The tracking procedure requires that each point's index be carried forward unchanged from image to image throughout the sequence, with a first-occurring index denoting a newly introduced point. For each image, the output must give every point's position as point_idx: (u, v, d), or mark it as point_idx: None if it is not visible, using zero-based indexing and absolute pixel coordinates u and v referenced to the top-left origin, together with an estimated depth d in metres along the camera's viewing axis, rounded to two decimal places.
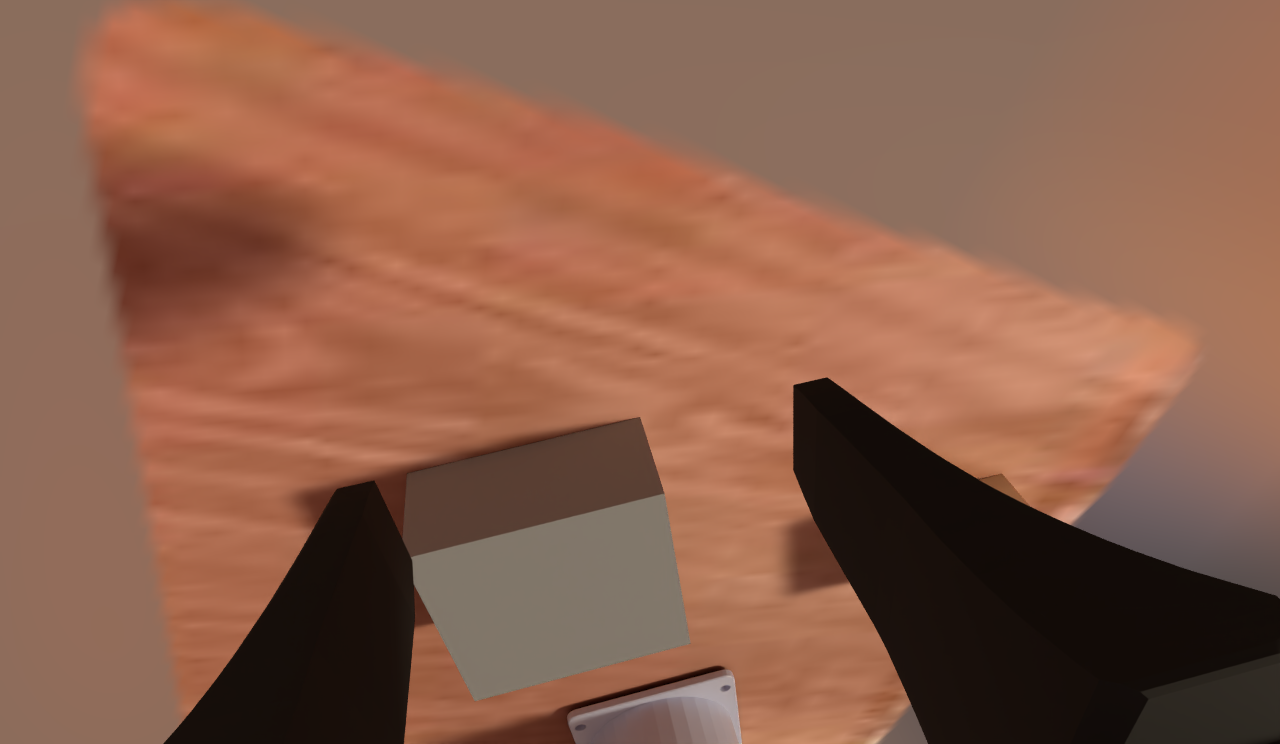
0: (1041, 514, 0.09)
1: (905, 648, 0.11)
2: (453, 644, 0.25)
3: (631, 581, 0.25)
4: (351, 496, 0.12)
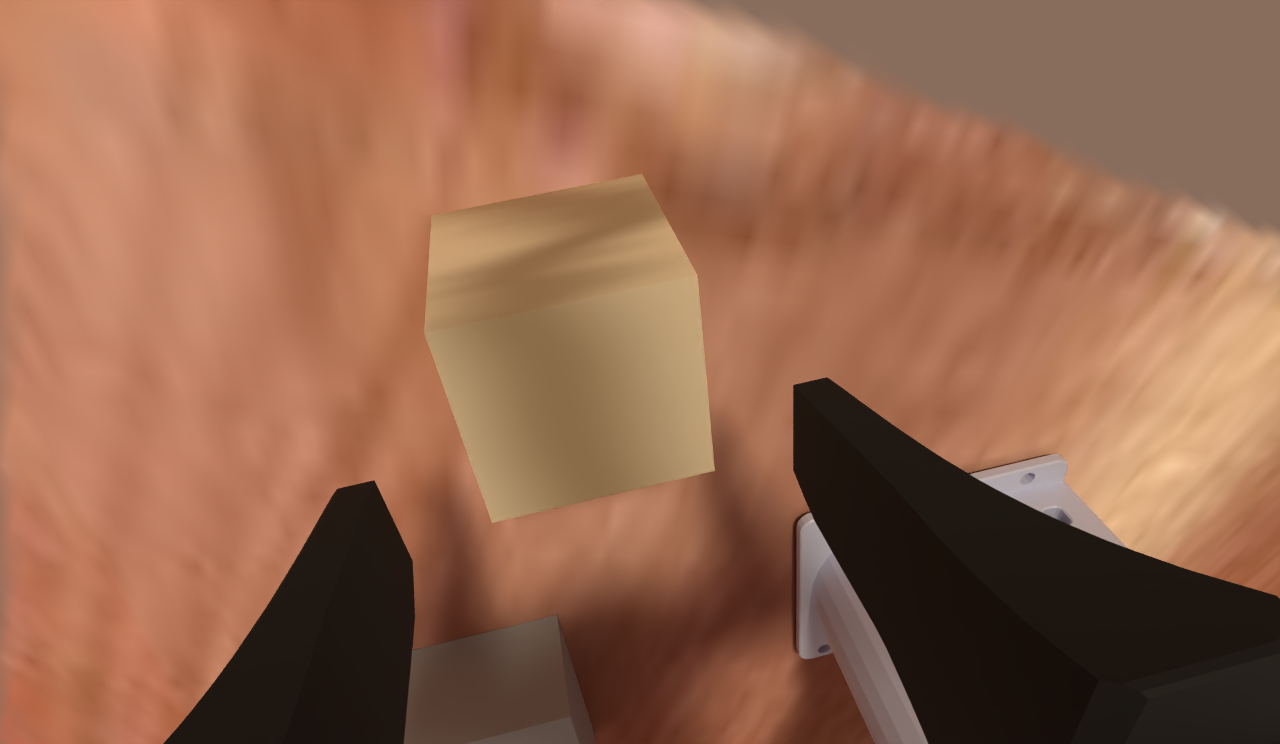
0: (1041, 514, 0.09)
1: (905, 648, 0.11)
2: None
3: None
4: (351, 496, 0.12)
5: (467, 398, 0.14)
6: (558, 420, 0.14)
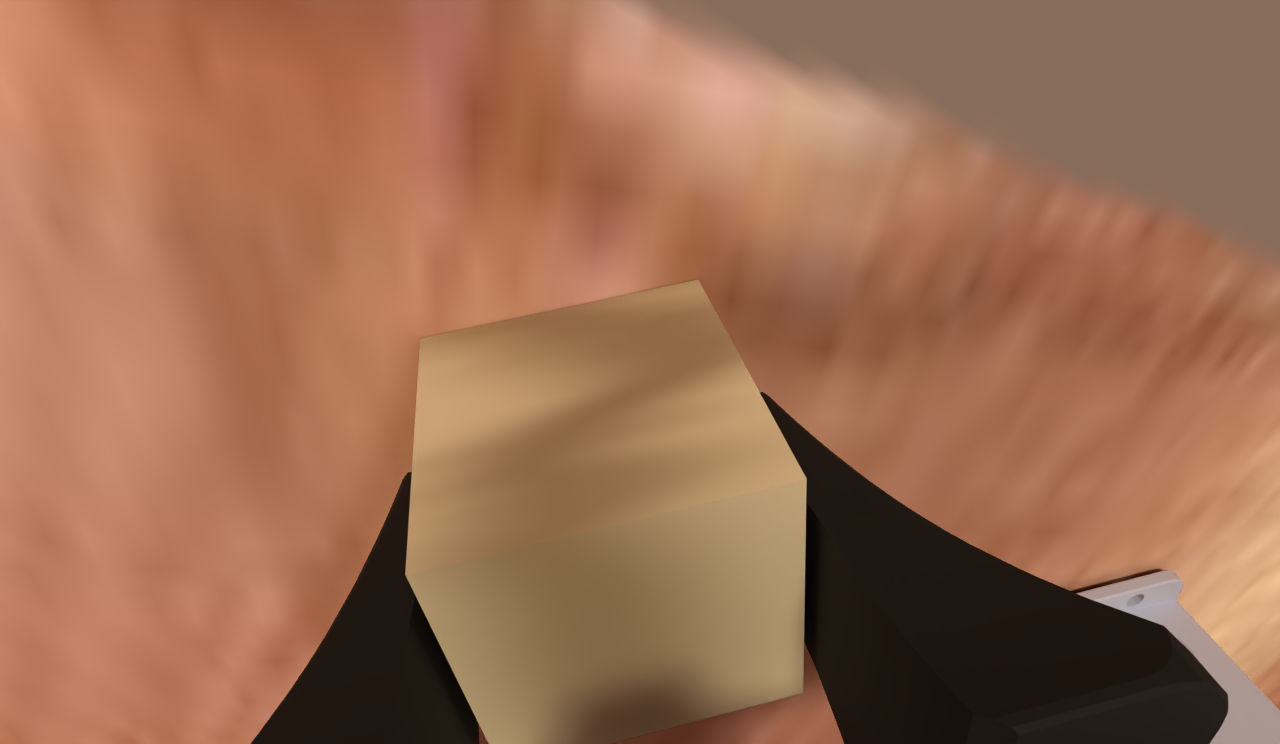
0: (951, 536, 0.09)
1: (829, 668, 0.11)
2: None
3: None
4: None
5: (469, 644, 0.10)
6: (597, 657, 0.10)
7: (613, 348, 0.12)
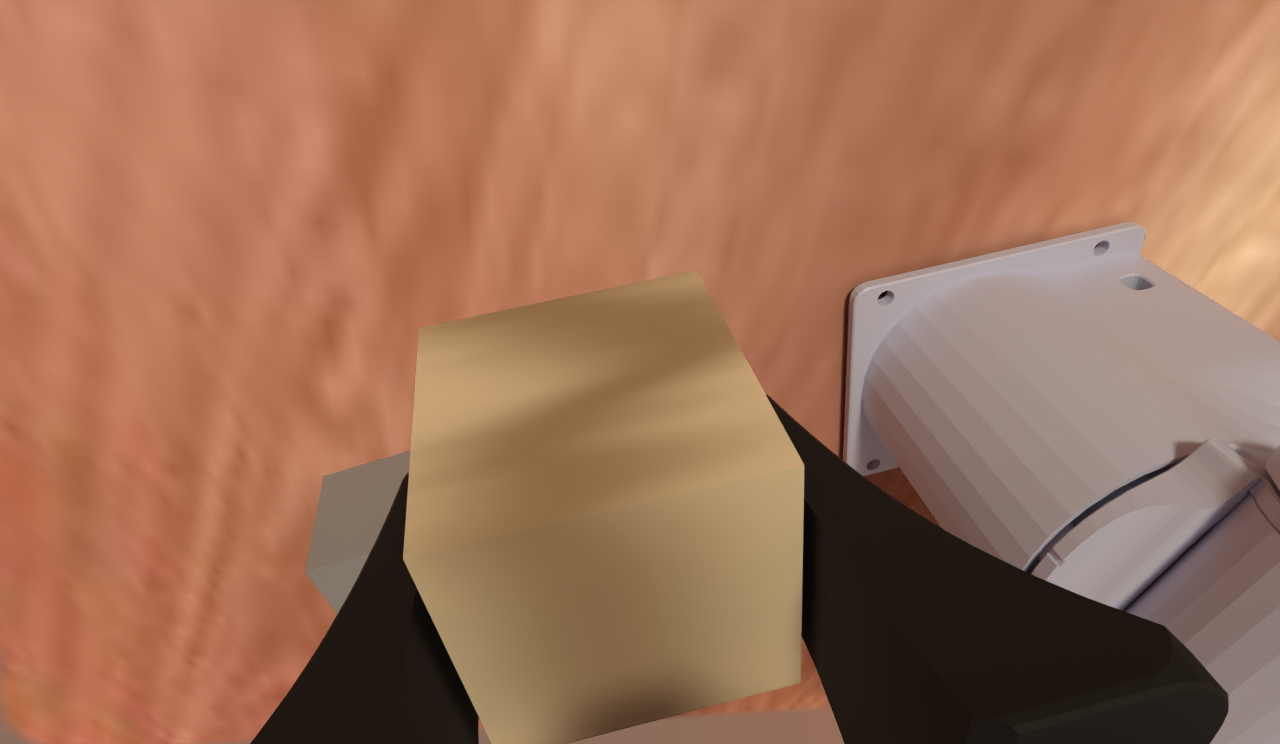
0: (951, 536, 0.09)
1: (829, 668, 0.11)
2: None
3: None
4: None
5: (467, 630, 0.10)
6: (594, 645, 0.10)
7: (612, 337, 0.12)
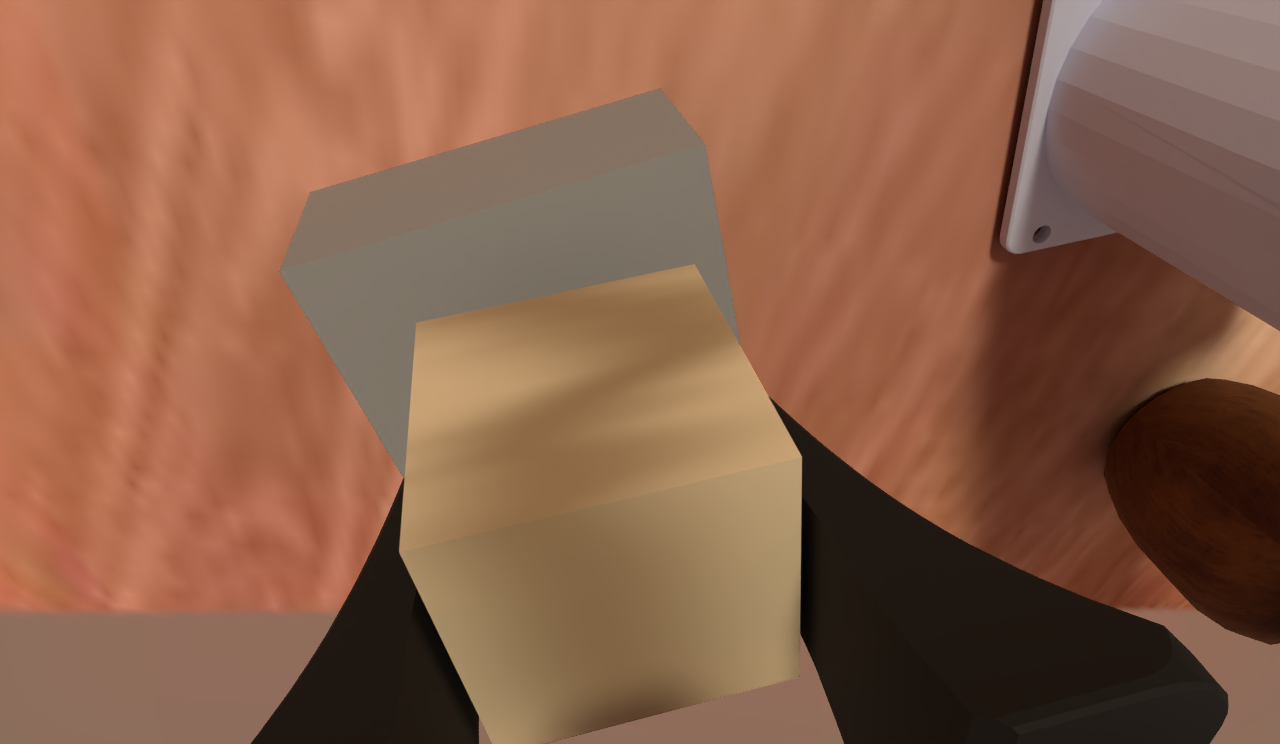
0: (951, 537, 0.09)
1: (829, 668, 0.11)
2: None
3: (505, 284, 0.15)
4: None
5: (464, 623, 0.09)
6: (592, 638, 0.10)
7: (609, 331, 0.12)
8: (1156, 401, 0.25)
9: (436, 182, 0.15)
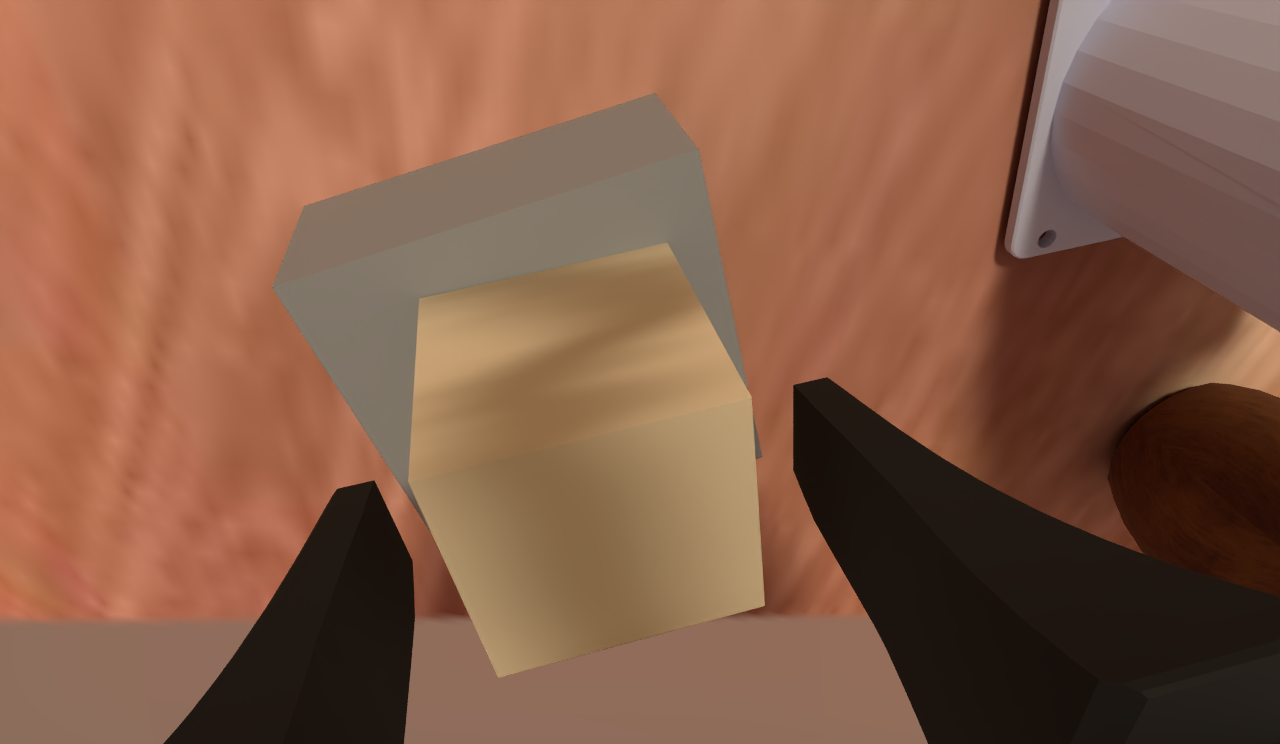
0: (1041, 514, 0.09)
1: (905, 648, 0.11)
2: None
3: None
4: (351, 496, 0.12)
5: (465, 549, 0.11)
6: (577, 566, 0.12)
7: (590, 301, 0.13)
8: (1161, 406, 0.25)
9: (429, 192, 0.15)
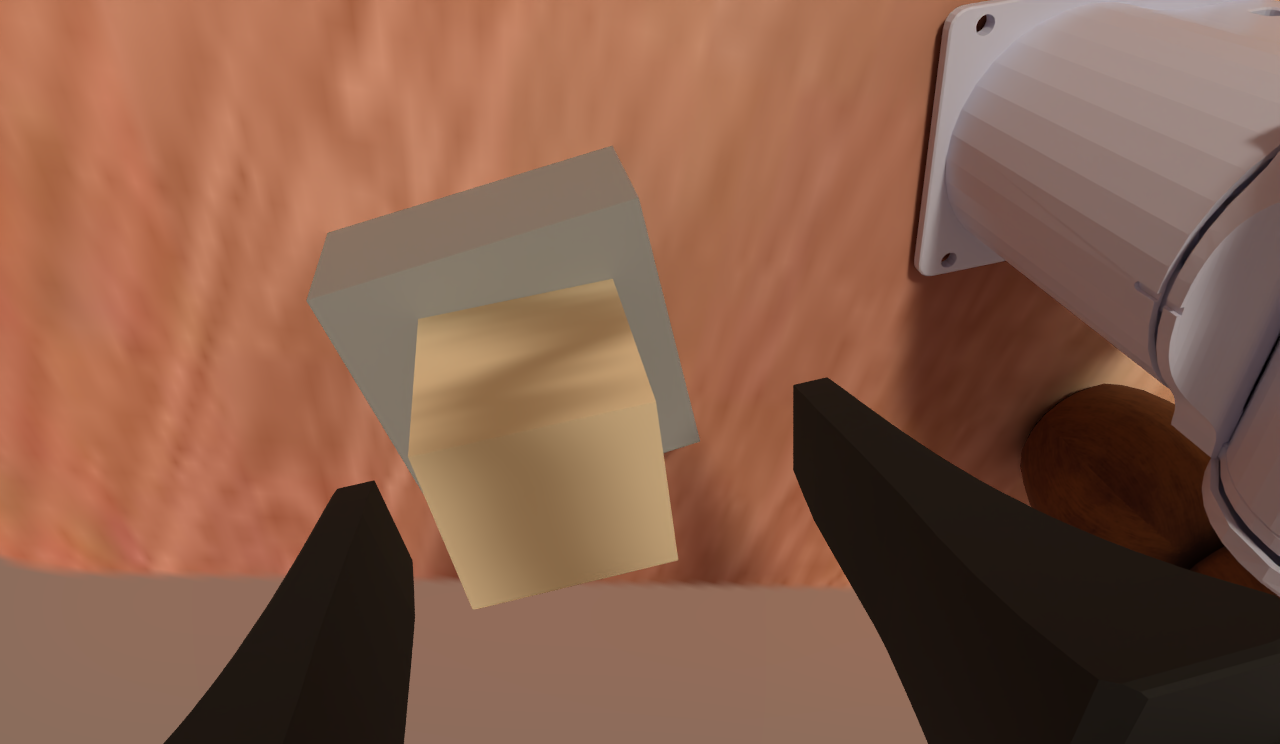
0: (1041, 514, 0.09)
1: (905, 648, 0.11)
2: None
3: None
4: (351, 496, 0.12)
5: (448, 508, 0.15)
6: (531, 523, 0.16)
7: (548, 325, 0.17)
8: (1062, 403, 0.29)
9: (429, 225, 0.19)
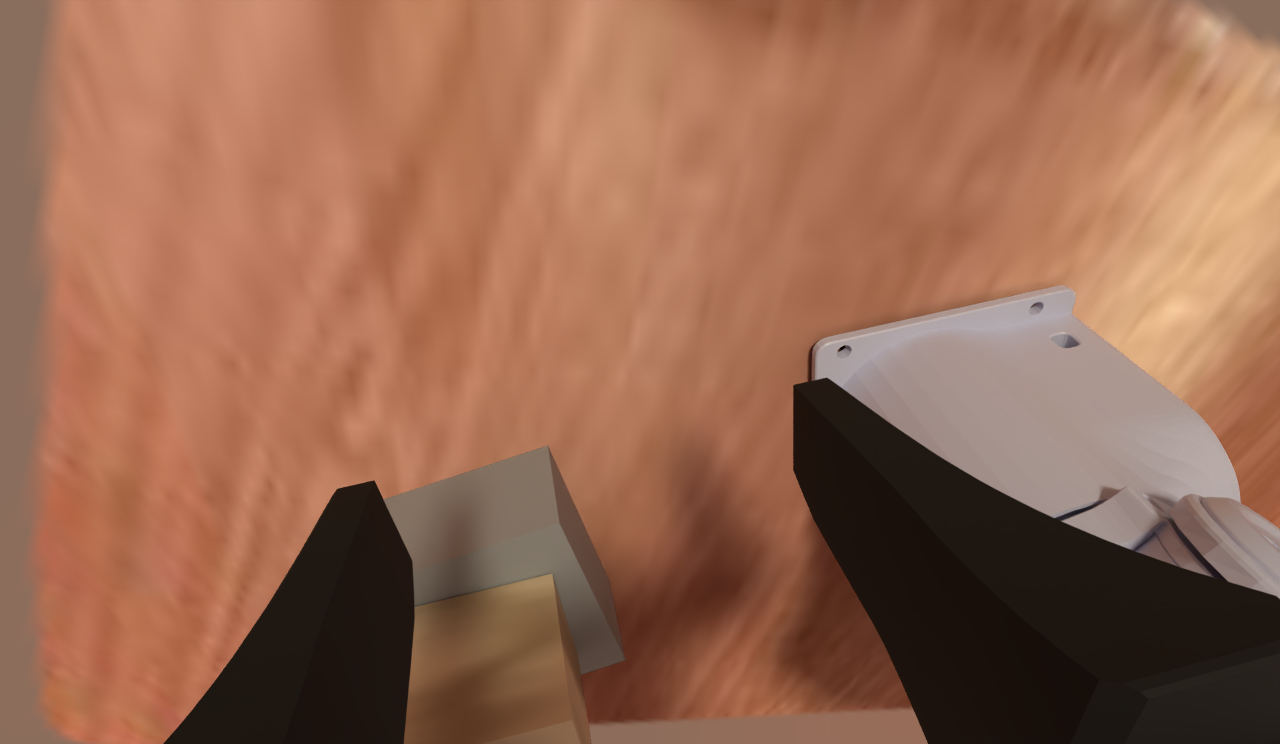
0: (1041, 514, 0.09)
1: (905, 648, 0.11)
2: None
3: (446, 597, 0.24)
4: (351, 496, 0.12)
5: None
6: None
7: (501, 625, 0.23)
8: None
9: (404, 525, 0.25)
